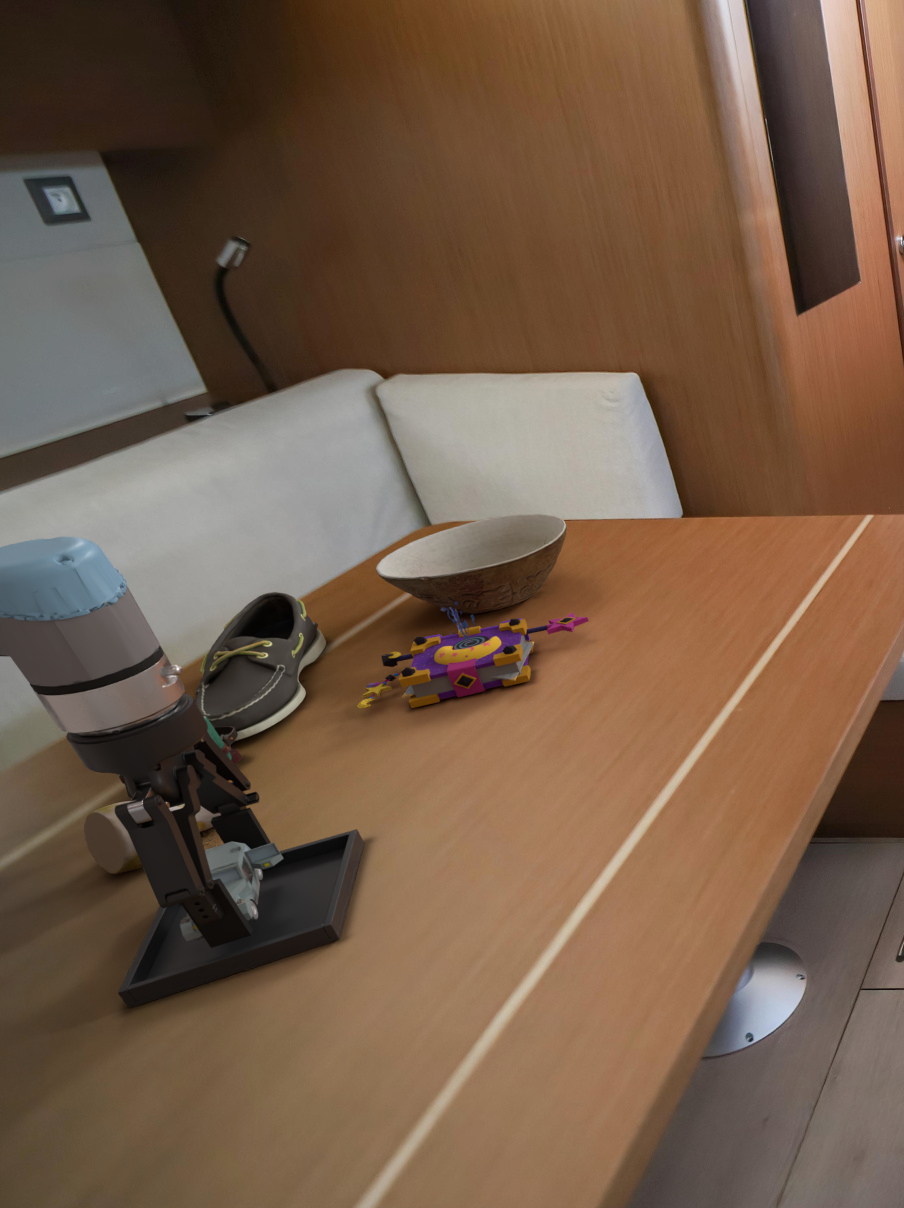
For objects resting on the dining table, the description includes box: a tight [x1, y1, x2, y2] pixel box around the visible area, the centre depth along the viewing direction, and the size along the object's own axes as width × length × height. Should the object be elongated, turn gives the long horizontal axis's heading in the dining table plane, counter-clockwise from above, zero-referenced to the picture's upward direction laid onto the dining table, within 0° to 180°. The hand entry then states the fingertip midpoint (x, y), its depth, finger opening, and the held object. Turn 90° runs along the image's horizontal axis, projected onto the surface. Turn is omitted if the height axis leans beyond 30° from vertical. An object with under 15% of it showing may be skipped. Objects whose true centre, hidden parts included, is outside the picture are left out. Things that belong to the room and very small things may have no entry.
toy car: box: [180, 841, 284, 941], centre depth 91 cm, size 6×10×5 cm, turn 40°
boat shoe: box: [193, 591, 327, 742], centre depth 124 cm, size 11×29×9 cm, turn 38°
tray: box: [117, 828, 365, 1009], centre depth 92 cm, size 14×15×2 cm
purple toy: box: [357, 595, 590, 709], centre depth 128 cm, size 15×25×12 cm, turn 121°
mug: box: [83, 800, 221, 875], centre depth 100 cm, size 8×10×10 cm
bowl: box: [375, 513, 568, 615], centre depth 148 cm, size 24×24×10 cm
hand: (247, 900), depth 92 cm, fingers closed on toy car, 10 cm apart
